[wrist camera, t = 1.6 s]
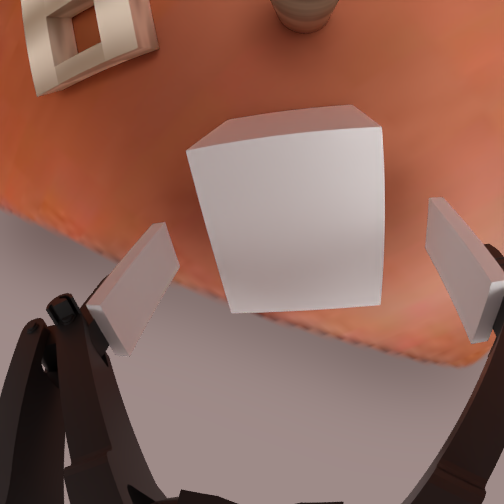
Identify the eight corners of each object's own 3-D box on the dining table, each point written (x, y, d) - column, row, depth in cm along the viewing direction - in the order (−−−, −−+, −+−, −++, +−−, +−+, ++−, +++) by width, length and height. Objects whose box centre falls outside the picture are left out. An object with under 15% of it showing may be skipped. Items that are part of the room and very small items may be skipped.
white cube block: (227, 119, 19) (185, 150, 13) (352, 104, 18) (381, 126, 11) (253, 239, 24) (231, 313, 17) (361, 230, 22) (380, 304, 16)
